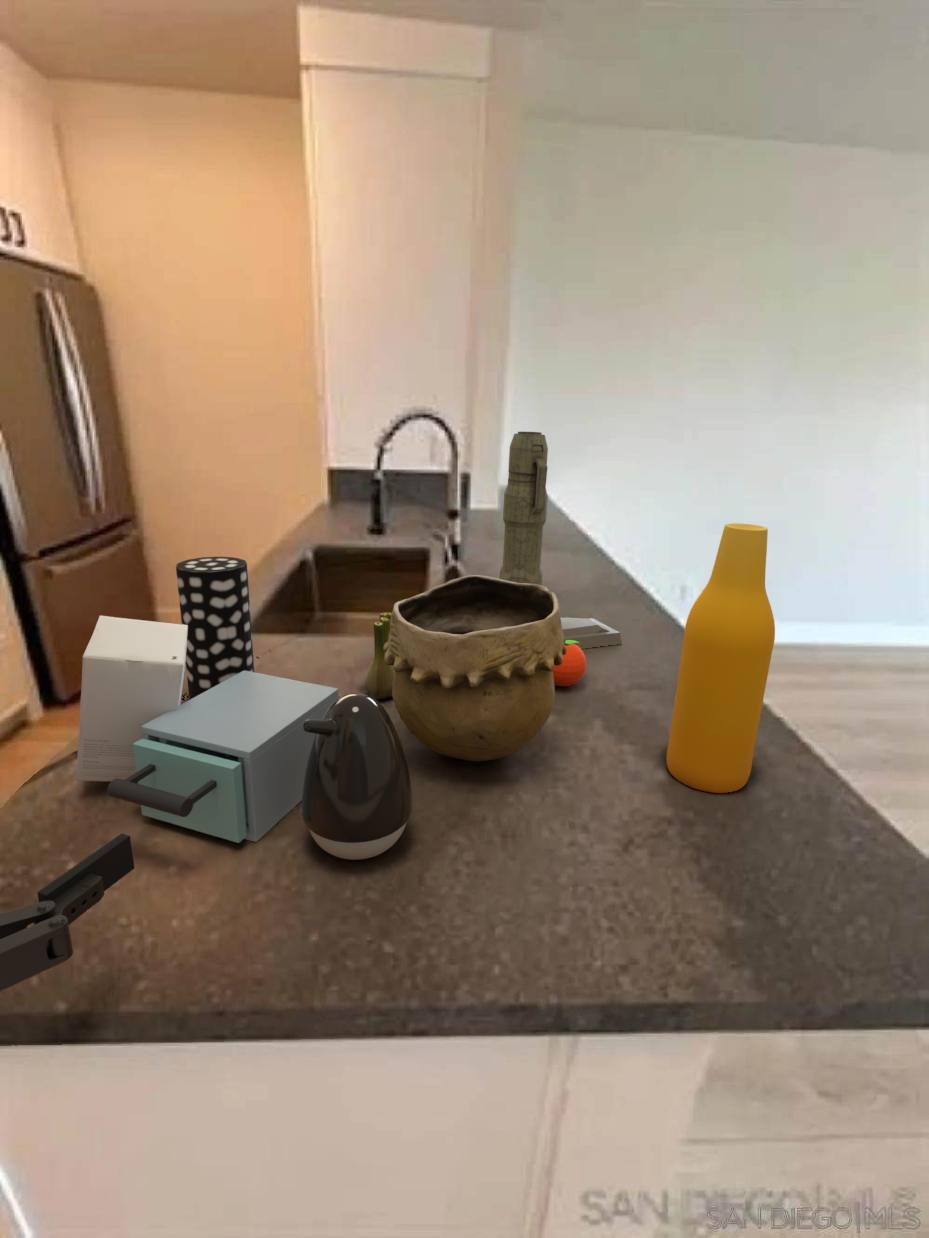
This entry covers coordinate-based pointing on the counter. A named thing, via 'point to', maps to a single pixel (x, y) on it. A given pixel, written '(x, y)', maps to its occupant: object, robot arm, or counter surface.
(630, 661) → the counter surface
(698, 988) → the counter surface
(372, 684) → the fennel bulb
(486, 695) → the clay pot
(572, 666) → the clementine
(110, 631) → the rectangular carton
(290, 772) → the small drawer unit
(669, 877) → the counter surface
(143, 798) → the mint green drawer
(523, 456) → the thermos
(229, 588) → the white-spotted black cylinder
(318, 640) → the counter surface
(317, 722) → the pump dispenser
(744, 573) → the beer bottle
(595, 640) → the soap mold
